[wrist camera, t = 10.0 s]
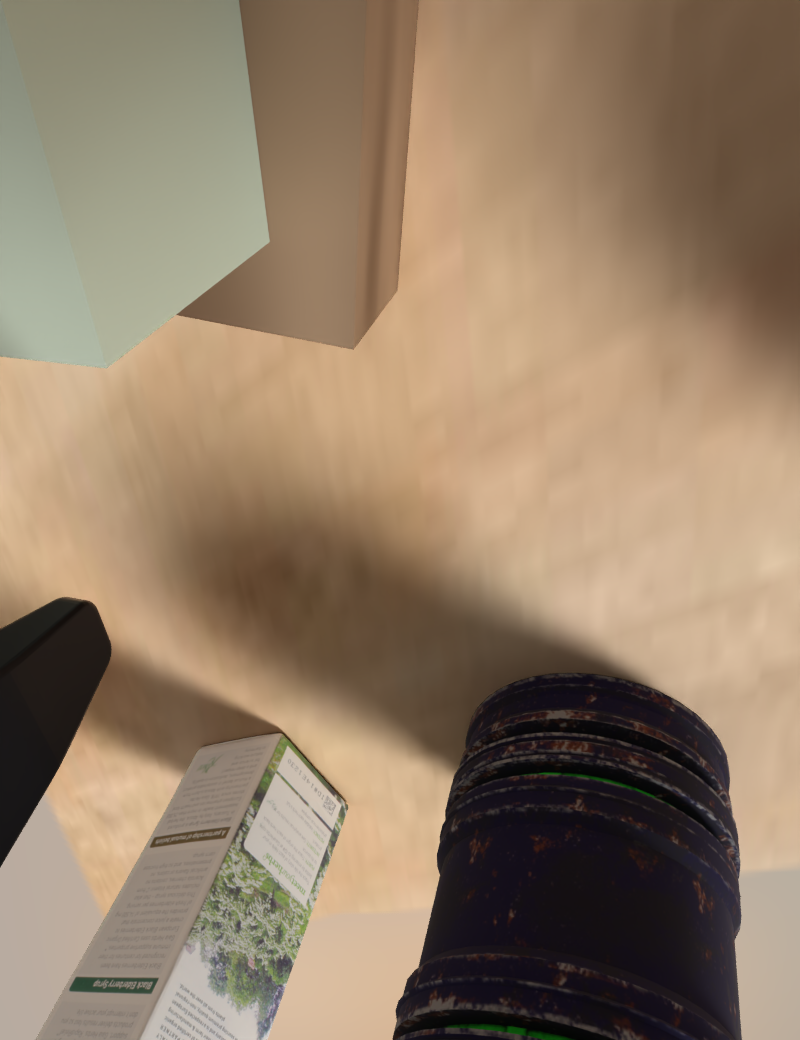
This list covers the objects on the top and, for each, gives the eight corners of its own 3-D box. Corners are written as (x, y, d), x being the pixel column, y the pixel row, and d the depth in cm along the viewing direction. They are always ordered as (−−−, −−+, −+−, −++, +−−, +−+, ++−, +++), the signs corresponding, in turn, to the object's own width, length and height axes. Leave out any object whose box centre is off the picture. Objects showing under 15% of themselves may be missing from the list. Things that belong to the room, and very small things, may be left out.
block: (437, -185, 14) (375, -219, 11) (401, 285, 20) (353, 349, 17) (12, -216, 15) (-148, -253, 12) (93, 230, 21) (-3, 280, 18)
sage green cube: (230, -64, 12) (-18, -65, 8) (269, 242, 15) (106, 368, 11) (-20, -55, 14) (-365, -52, 9) (62, 228, 17) (-164, 338, 12)
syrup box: (195, 744, 36) (-12, 1104, 25) (286, 727, 33) (97, 1127, 22) (266, 815, 38) (105, 1172, 27) (356, 804, 35) (217, 1202, 24)
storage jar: (414, 715, 30) (263, 1194, 18) (631, 634, 24) (605, 1252, 13) (562, 852, 33) (510, 1335, 22) (785, 808, 27) (873, 1432, 16)
